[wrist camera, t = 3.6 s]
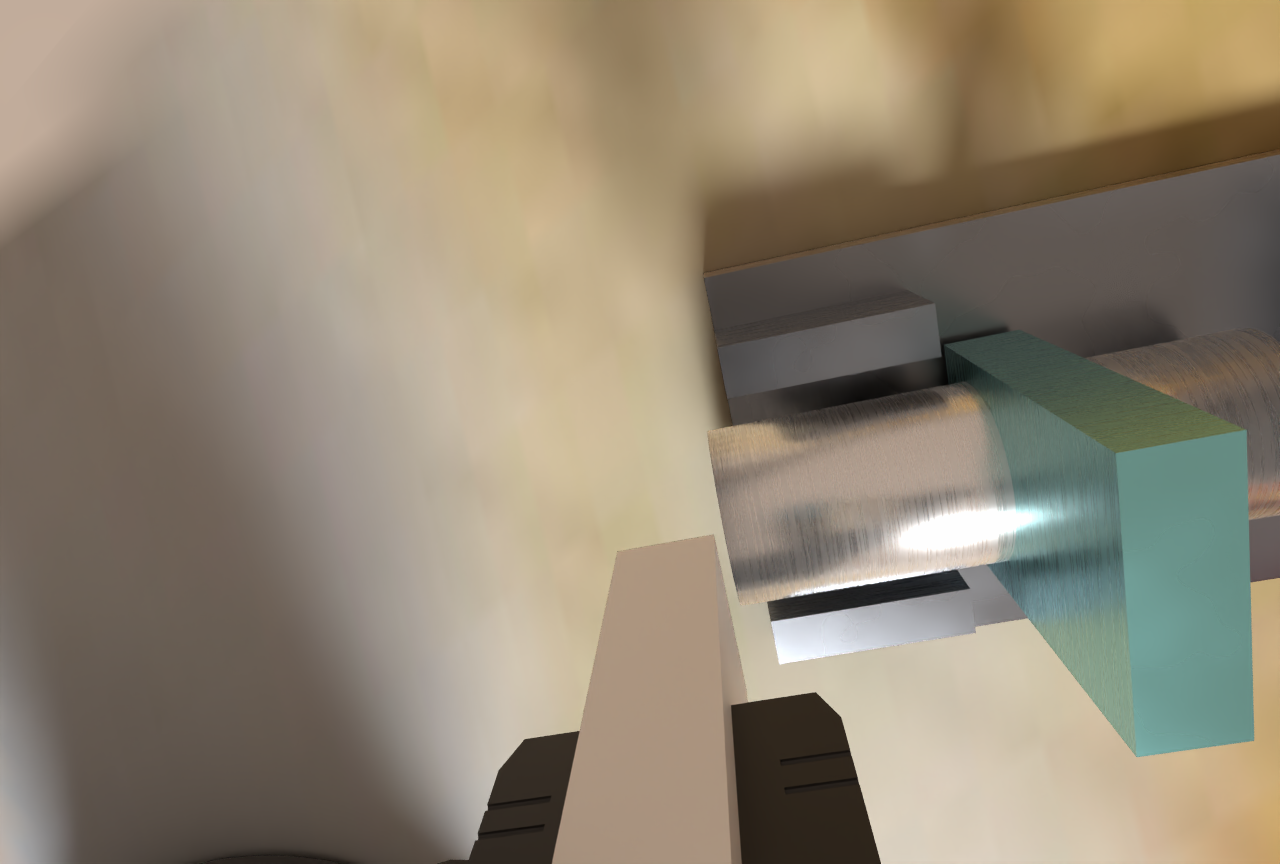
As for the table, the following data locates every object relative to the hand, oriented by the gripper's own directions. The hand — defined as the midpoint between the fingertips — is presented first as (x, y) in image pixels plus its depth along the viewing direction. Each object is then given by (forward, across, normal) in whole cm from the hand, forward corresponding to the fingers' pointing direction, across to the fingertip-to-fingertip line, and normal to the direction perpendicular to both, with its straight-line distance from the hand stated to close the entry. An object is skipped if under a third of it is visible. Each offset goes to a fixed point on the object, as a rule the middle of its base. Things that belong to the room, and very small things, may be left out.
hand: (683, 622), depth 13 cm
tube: (+6, +6, 0) cm, 8 cm away
